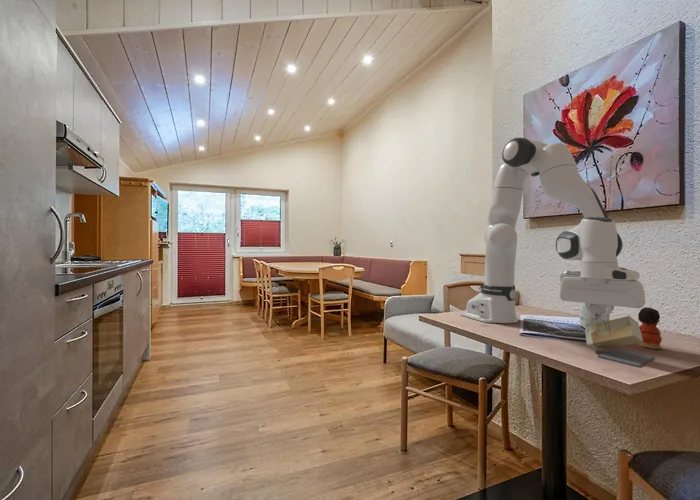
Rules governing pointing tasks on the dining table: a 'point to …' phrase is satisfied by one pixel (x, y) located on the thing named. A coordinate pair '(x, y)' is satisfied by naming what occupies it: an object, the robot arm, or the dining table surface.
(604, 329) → the skincare box
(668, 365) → the dining table surface
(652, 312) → the figurine
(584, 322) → the ink box
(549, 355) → the dining table surface
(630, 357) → the felt mat
